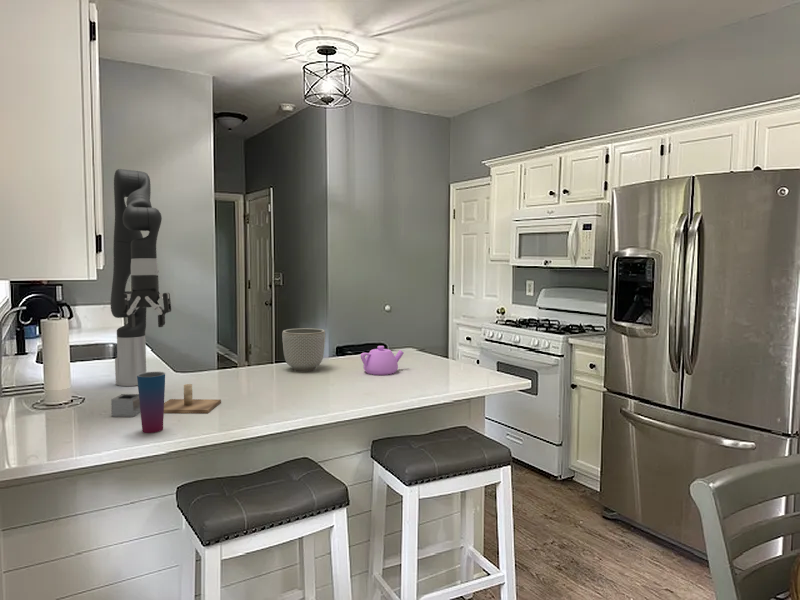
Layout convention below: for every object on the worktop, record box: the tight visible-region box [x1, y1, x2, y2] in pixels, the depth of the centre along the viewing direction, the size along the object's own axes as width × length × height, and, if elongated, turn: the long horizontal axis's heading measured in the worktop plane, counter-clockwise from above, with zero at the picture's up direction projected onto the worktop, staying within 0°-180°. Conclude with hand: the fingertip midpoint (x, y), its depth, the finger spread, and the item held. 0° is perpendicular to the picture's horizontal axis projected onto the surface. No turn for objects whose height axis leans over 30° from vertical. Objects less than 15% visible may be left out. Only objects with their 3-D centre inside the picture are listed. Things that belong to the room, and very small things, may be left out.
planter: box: [281, 327, 326, 373], centre depth 227 cm, size 17×17×16 cm
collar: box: [110, 393, 141, 418], centre depth 163 cm, size 6×6×5 cm
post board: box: [164, 383, 222, 414], centre depth 169 cm, size 16×12×7 cm
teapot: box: [360, 345, 404, 376], centre depth 224 cm, size 14×20×11 cm
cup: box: [137, 371, 166, 434], centre depth 147 cm, size 7×7×15 cm
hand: (146, 327), depth 169 cm, fingers open, 8 cm apart
